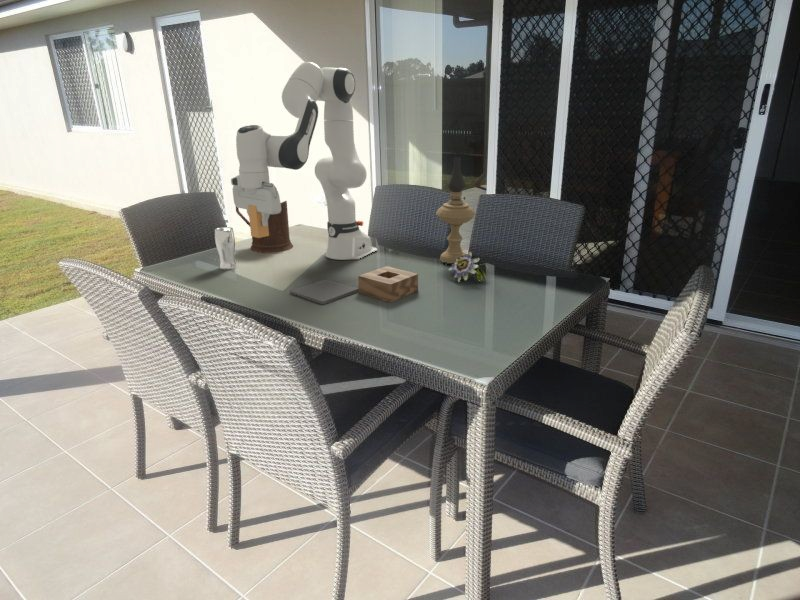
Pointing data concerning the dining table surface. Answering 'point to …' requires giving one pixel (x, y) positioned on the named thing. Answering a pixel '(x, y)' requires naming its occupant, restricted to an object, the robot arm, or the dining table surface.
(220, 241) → the beer glass
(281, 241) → the rusty metal jug
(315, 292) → the mat
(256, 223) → the pin
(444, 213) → the oil lamp
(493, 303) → the dining table surface
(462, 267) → the passion flower
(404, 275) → the socket block
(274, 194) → the robot arm
